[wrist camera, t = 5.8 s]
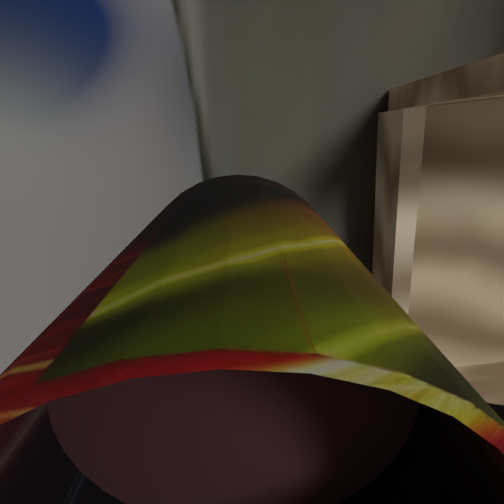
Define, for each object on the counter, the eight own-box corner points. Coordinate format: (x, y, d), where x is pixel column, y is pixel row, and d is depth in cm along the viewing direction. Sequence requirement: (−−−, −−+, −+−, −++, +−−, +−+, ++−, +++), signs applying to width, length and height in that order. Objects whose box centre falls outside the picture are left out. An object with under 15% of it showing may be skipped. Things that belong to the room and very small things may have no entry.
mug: (227, 409, 20) (208, 775, 8) (109, 222, 15) (-308, 513, 4) (370, 361, 18) (565, 711, 7) (294, 140, 13) (539, 190, 2)
